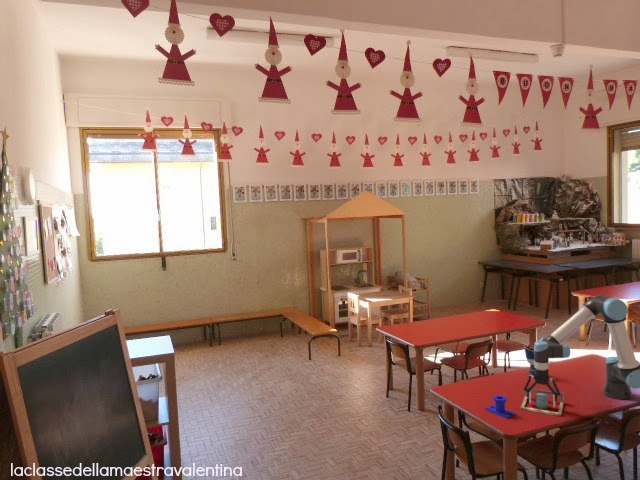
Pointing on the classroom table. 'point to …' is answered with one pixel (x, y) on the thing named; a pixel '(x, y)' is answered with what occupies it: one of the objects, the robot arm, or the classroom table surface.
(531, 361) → the figurine
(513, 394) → the classroom table surface
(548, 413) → the shelf frame
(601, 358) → the classroom table surface
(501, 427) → the classroom table surface
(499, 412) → the mount
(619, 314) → the robot arm
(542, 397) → the grooved blue cylinder
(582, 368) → the classroom table surface
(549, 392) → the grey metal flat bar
